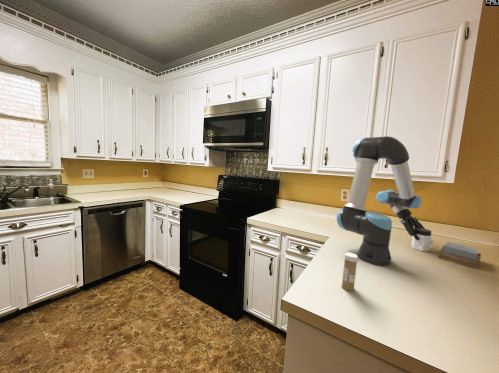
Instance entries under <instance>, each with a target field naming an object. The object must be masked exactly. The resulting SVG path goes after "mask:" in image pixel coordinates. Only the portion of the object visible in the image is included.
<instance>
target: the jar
mask: <svg viewBox="0 0 499 373" xmlns="http://www.w3.org/2000/svg"><path fill="white" fill-rule="evenodd" d="M424 228H425V227H424ZM424 228H415V227H414V229H415V231H416V233H417V234H419V236H420V237H421V238H422V240H423V241H424V242H425V243H426V244H425V245H423V246H420V244H419V243H418V242H417V240H416V239H415V238H414V236H411V244H410V246H411V248H412V249H414V250H417V251H420V252H430V248H431V244H432V243H431V239H432V230H431V229H427V228H425V229H424ZM430 243H431V244H430Z"/></svg>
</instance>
